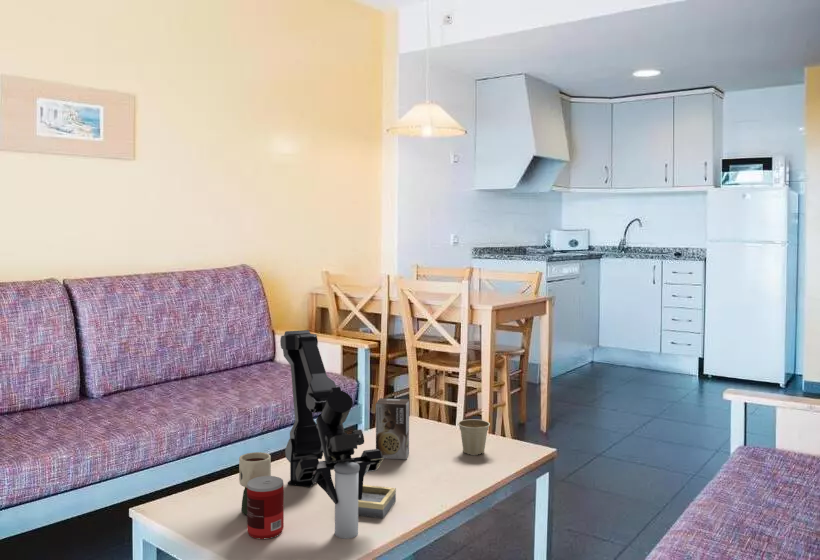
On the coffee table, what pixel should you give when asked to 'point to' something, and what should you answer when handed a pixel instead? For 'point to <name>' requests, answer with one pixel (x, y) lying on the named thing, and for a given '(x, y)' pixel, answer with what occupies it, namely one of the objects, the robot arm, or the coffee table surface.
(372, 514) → the tan rimmed dish
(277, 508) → the canned food
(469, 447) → the flower pot
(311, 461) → the robot arm
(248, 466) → the character mug
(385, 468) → the coffee table surface
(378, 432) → the coffee box
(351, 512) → the tall white tube
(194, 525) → the coffee table surface
